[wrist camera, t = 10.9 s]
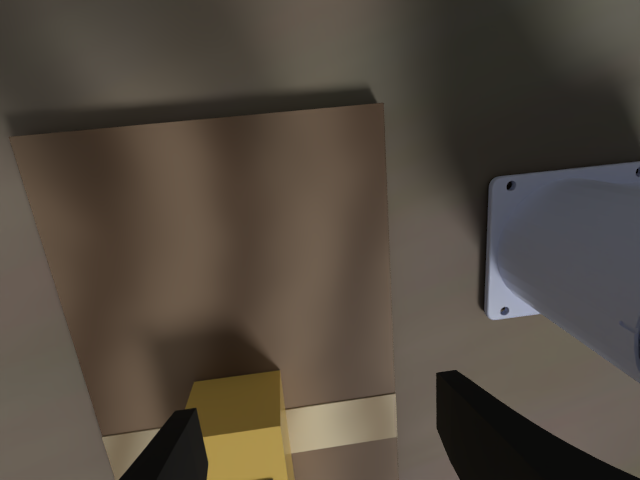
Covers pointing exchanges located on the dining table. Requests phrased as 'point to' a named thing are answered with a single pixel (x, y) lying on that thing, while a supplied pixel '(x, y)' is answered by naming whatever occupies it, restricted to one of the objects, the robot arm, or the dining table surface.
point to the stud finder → (244, 427)
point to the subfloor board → (228, 273)
